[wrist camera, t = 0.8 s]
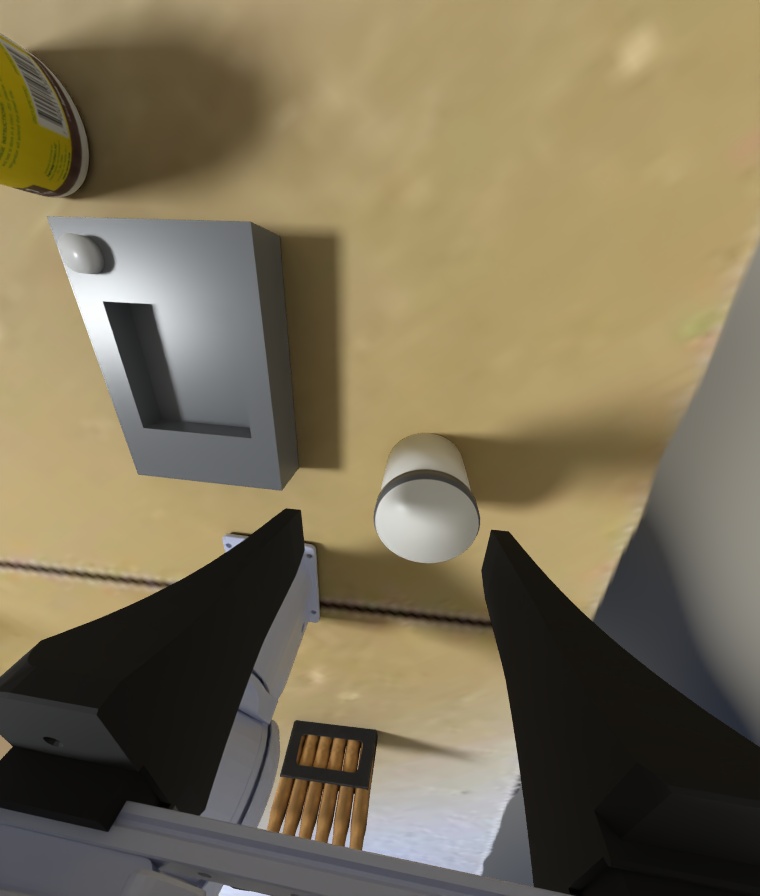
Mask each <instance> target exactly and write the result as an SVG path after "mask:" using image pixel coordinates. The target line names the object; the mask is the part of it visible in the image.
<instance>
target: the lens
mask: <svg viewBox="0 0 760 896" xmlns="http://www.w3.org/2000/svg"><path fill="white" fill-rule="evenodd" d="M374 525H375V529H376V531H377V534H378V535H379V537H380V539H381V541H382V542H383V543H384V544H385V546H386V547H387V548H388V549H390V550H391V551H392V552H394V553H395V554H397V555H398V556H400V557H402V558H405V559H407V560H410V561H414V562H420V563H438V562H443V561H447V560H450V559H452V558H455V557H457V556H458V555H460V554H462V553H463V552H464V551H466V550H467V549H468V548H469V547H470V546H471V544H472V543H473V541H474V540H475V538H476V536H477V534H478V531H479V527H480V515H479V511H478V507H477V503H476V500H475V498H474V496H473V494H472V492H471V489H470V485H469V481H468V477H467V474H466V470H465V466H464V462H463V459H462V456H461V454H460V452H459V450H458V449H457V447H456V446H455V445H454V444H453V443H452V442H451V441H449V440H448V439H446V438H444V437H442V436H440V435H436V434H432V433H418V434H413V435H410V436H408V437H406V438H404V439H402V440H401V441H399V442H398V443H397V444H396V445H395V446H394V447H393V449H392V450H391V452H390V454H389V457H388V460H387V465H386V470H385V474H384V479H383V483H382V488H381V492H380V494H379V496H378V499H377V502H376V507H375V511H374Z"/></svg>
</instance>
